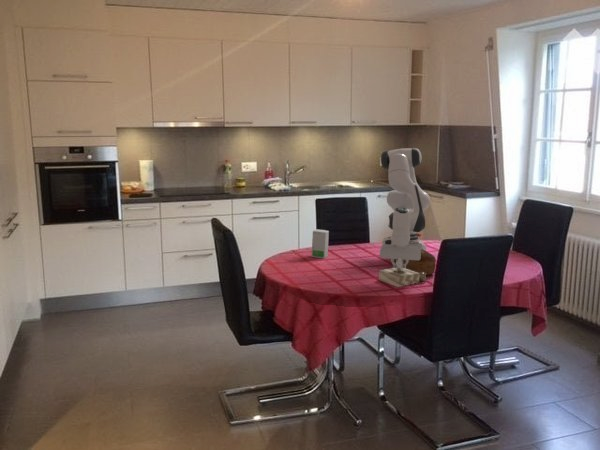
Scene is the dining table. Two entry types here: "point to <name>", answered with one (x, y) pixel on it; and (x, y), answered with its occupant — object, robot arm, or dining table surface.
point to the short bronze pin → (422, 277)
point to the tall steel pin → (399, 265)
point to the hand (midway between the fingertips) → (399, 267)
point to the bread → (422, 263)
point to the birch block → (398, 277)
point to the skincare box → (320, 243)
